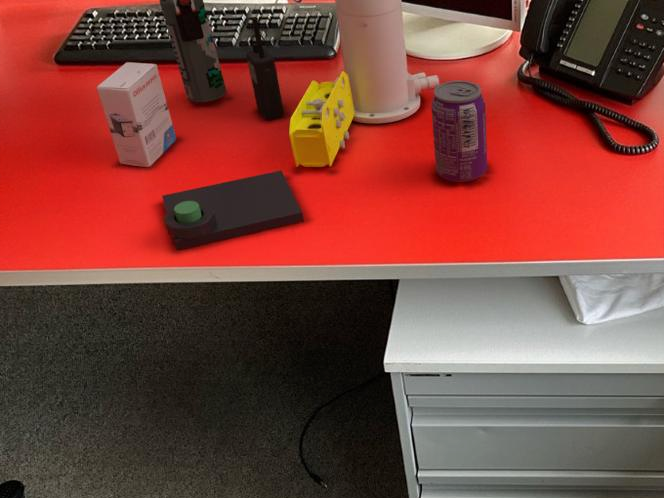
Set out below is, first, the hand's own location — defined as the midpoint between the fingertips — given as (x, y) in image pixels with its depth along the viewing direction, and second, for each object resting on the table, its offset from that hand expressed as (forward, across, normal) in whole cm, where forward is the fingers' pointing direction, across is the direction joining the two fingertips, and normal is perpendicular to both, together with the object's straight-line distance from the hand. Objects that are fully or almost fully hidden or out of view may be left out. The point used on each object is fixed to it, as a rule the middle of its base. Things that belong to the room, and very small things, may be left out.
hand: (189, 30), depth 136 cm
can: (+10, 0, 0) cm, 10 cm away
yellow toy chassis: (+12, +23, +14) cm, 29 cm away
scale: (+11, +37, -3) cm, 38 cm away
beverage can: (+12, +40, +28) cm, 50 cm away
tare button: (+9, +40, -8) cm, 42 cm away
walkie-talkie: (+11, +10, +8) cm, 17 cm away
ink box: (+11, +15, -11) cm, 21 cm away
